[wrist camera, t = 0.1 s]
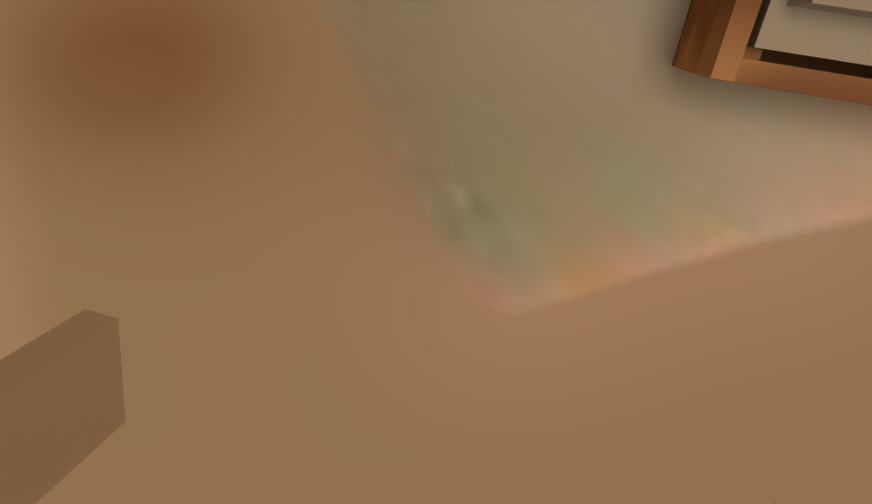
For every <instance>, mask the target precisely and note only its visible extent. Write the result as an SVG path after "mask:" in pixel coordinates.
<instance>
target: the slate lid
mask: <svg viewBox="0 0 872 504" xmlns="http://www.w3.org/2000/svg"><path fill="white" fill-rule="evenodd" d="M746 47H752V48H758V49H765V50H771V51H777V52H783V53H790V54H796V55H802V56H809V57H815V58H821V59H827V60H834V61H840V62H846V63H852V64H859V65H865V66H871V67H872V0H762V3H761V6H760V9H759V12H758V15H757V18H756V20H755V23H754V26H753V29H752V32H751V35H750V37H749V40H748V43H747V46H746Z"/></svg>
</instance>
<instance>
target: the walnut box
mask: <svg viewBox="0 0 872 504" xmlns="http://www.w3.org/2000/svg"><path fill="white" fill-rule="evenodd" d="M761 3H762V0H692V1H691V4H690V8H689V11H688V14H687V18H686V21H685V24H684V27H683V31H682V34H681V37H680V41H679V44H678V47H677V50H676V54H675V57H674V60H673V63H672V66H675V67H678V68H681V69H685V70H688V71H691V72H694V73H697V74H700V75H703V76H706V77H709V78H713V79H719V80H725V81H731V82H737V83H743V84H749V85H755V86H761V87H767V88H773V89H779V90H785V91H791V92H797V93H803V94H809V95H815V96H821V97H827V98H833V99H839V100H845V101H850V102H856V103H862V104H868V105H872V67H871V66H865V65H859V64H852V63H846V62H840V61H834V60H827V59H821V58H815V57H809V56H802V55H796V54H790V53H783V52H777V51H771V50H765V49H758V48H752V47H746V46H747V43H748V40H749V37H750V35H751V32H752V29H753V26H754V23H755V20H756V18H757V15H758V12H759V9H760V6H761Z"/></svg>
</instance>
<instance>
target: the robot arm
mask: <svg viewBox="0 0 872 504" xmlns="http://www.w3.org/2000/svg"><path fill="white" fill-rule="evenodd" d="M121 368H122V367H121V352H120V337H119V323H118V318H115V317H111V316H107V315H104V314H100V313H97V312H93V311H90V310H86V309H85V310H84V311H82V312H80V313H78V314H77V315H75V316H73V317H71V318H70V319H68V320H66V321H65V322H63V323H61V324H60V325H58V326H56V327H55V328H53V329H51V330H50V331H48V332H46V333H45V334H43V335H41V336H40V337H38V338H36V339H35V340H33V341H31V342H30V343H28V344H26V345H24V346H23V347H21V348H20V349H18V350H16V351H15V352H13V353H11V354H9V355H8V356H6V357H5V358H3V359H1V360H0V504H36V502H38V501H39V500H40V499H41V498H42V497H43V496H44V495H45V494H47V493H48V492H49V491H50V490H51V489H52V488H53V487H54V486H55V485H56V484H58V483H59V482H60V481H61V480H62V479H63V478H64V477H65V476H66V475H67V474H69V473H70V472H71V471H72V470H73V469H74V468H75V467H76V466H77V465H78V464H79V463H81V462H82V461H83V460H84V459H85V458H86V457H87V456H88V455H89V454H90V453H92V452H93V451H94V450H95V449H96V448H97V447H98V446H99V445H100V444H101V443H103V442H104V441H105V440H106V439H107V438H108V437H109V436H110V435H111V434H112V433H113V432H115V431H116V430H117V429H118V428H119V427H120V426H121V425H122V424H123V423H124V422H125V411H124V397H123V382H122V369H121ZM774 504H777V503H774Z"/></svg>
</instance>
